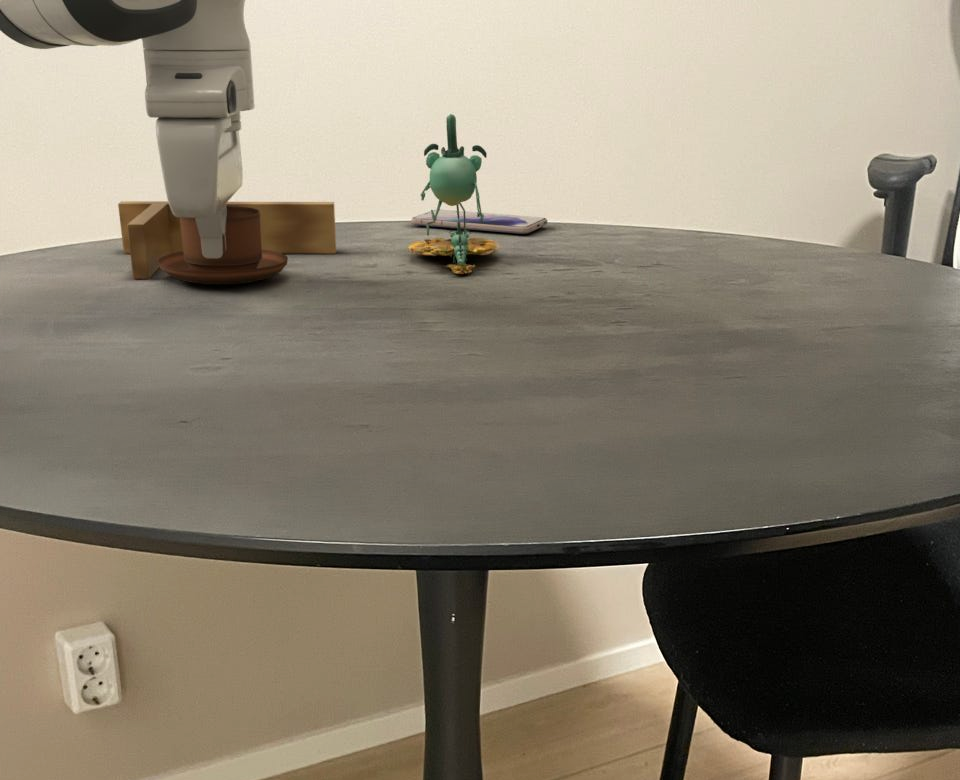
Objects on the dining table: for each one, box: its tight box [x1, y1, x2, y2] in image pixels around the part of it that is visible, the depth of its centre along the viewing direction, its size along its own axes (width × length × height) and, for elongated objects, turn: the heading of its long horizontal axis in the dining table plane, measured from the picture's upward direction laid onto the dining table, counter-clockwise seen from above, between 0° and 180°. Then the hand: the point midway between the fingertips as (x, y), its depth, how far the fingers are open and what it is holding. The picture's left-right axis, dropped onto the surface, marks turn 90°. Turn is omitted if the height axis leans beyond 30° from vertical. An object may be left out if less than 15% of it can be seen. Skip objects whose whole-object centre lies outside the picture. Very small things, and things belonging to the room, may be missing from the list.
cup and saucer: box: [158, 206, 289, 286], centre depth 117 cm, size 12×12×6 cm
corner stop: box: [117, 200, 337, 280], centre depth 124 cm, size 22×15×5 cm
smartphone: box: [411, 209, 548, 235], centre depth 148 cm, size 7×1×15 cm
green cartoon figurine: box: [407, 113, 501, 275], centre depth 127 cm, size 10×18×15 cm, turn 171°
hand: (214, 255), depth 112 cm, fingers closed
